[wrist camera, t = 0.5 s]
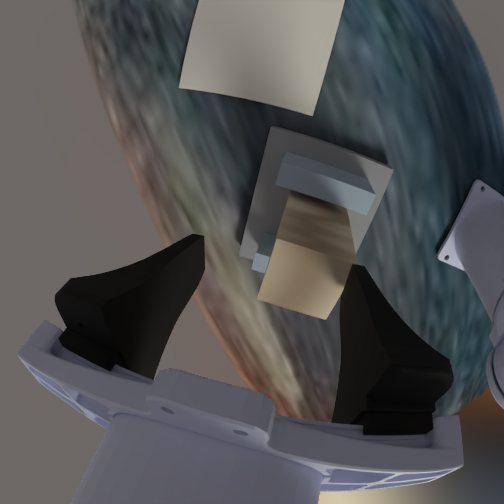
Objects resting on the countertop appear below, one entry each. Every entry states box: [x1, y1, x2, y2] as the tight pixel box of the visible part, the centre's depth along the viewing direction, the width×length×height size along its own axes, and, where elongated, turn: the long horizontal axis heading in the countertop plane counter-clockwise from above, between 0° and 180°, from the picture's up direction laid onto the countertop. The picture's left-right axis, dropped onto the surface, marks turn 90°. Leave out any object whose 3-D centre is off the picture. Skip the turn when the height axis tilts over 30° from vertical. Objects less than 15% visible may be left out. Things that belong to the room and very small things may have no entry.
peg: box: [257, 190, 357, 320], centre depth 17 cm, size 4×4×8 cm
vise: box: [239, 126, 393, 273], centre depth 19 cm, size 9×11×4 cm
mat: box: [179, 0, 345, 116], centre depth 13 cm, size 10×14×1 cm
